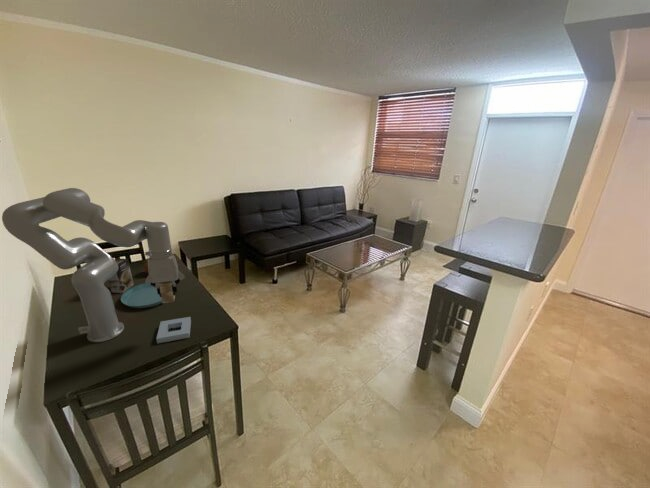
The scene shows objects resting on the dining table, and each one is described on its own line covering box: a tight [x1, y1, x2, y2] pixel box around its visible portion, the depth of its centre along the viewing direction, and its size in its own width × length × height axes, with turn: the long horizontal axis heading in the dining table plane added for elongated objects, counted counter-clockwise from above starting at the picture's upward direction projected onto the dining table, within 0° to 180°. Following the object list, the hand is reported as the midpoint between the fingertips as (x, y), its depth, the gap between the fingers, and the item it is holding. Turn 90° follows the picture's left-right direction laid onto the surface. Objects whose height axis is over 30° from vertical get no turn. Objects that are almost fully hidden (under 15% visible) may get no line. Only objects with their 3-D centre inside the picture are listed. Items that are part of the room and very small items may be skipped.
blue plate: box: [120, 282, 163, 309], centre depth 146 cm, size 24×24×3 cm
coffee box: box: [107, 258, 134, 294], centre depth 151 cm, size 9×6×16 cm
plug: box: [159, 281, 176, 304], centre depth 115 cm, size 4×4×9 cm
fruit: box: [144, 260, 149, 274], centre depth 170 cm, size 10×10×10 cm
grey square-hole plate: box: [155, 316, 192, 344], centre depth 122 cm, size 12×12×2 cm
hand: (167, 294), depth 116 cm, fingers closed on plug, 4 cm apart
